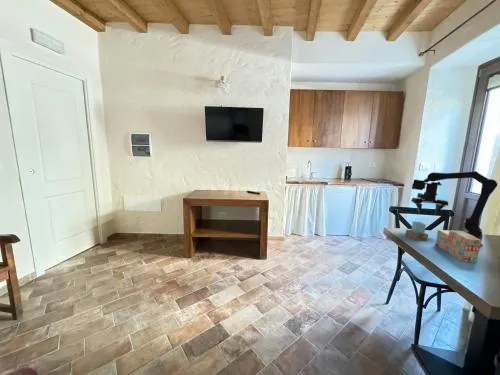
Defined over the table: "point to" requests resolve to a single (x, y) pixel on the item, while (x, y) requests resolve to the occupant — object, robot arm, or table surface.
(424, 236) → the walnut base block
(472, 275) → the table surface
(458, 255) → the stack of blocks
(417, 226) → the teal block
